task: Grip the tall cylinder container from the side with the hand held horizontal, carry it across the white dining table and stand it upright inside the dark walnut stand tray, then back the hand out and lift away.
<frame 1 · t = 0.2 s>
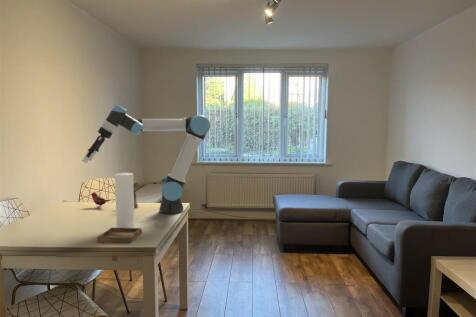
hand: (86, 160, 208), 35 cm above the table, tool tilted 35°, fingers open, 13 cm apart
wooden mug: (132, 208, 244), on the table
walnut stand tray: (120, 237, 182), on the table
decorative bird figurine: (101, 208, 246), on the table
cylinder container: (125, 228, 198), on the table
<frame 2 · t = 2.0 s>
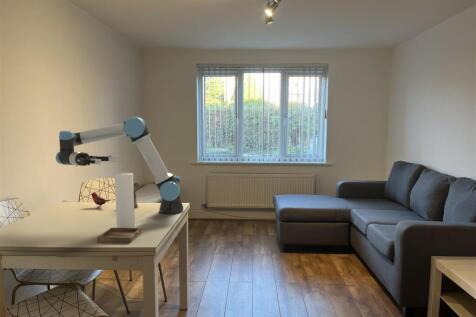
hand: (109, 160, 199), 36 cm above the table, tool horizontal, fingers open, 13 cm apart
nothing on the table moved.
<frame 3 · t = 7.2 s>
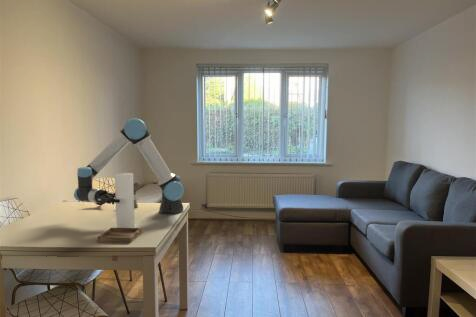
hand: (131, 199, 195), 16 cm above the table, tool horizontal, fingers closed on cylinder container, 9 cm apart
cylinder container: (125, 228, 198), on the table, touching gripper
everything else where it was.
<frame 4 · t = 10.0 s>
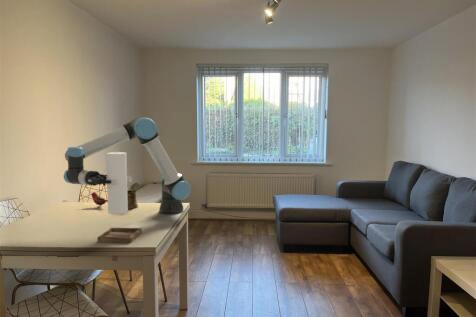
hand: (124, 180, 180), 28 cm above the table, tool horizontal, fingers closed on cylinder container, 9 cm apart
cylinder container: (118, 212, 183), point 12 cm above the table, touching gripper
everything else where it was.
when the fingers open (18 cm above the table, at t = 13.0 s): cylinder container drops 1 cm, resting on walnut stand tray.
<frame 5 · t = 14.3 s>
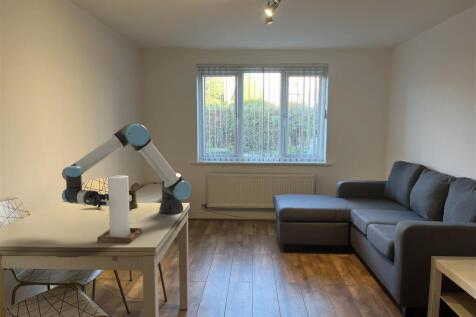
hand: (122, 200, 179), 19 cm above the table, tool horizontal, fingers open, 13 cm apart
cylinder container: (120, 235, 182), point 1 cm above the table, touching walnut stand tray
everything else where it was.
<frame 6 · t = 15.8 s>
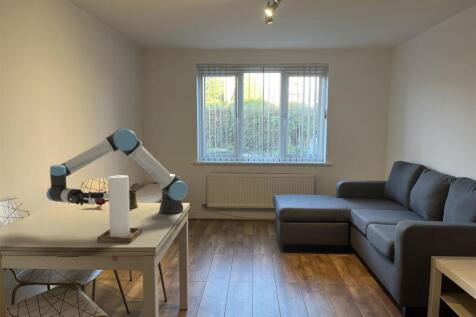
hand: (104, 199, 184), 19 cm above the table, tool horizontal, fingers open, 13 cm apart
nothing on the table moved.
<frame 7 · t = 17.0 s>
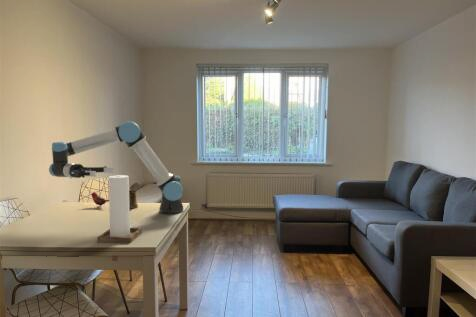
hand: (104, 172, 193), 31 cm above the table, tool horizontal, fingers open, 13 cm apart
nothing on the table moved.
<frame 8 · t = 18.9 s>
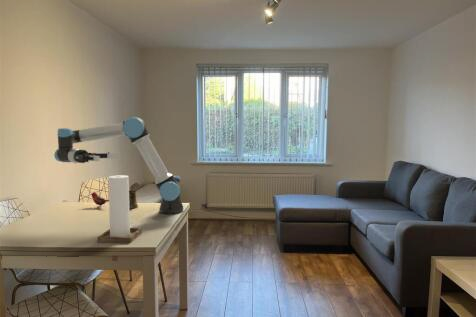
hand: (108, 157, 198), 38 cm above the table, tool horizontal, fingers open, 13 cm apart
nothing on the table moved.
at the end: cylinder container inside the target area on the walnut stand tray (0.1 cm from its centre), point 0.8 cm above the walnut stand tray's base; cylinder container tilted 0°; the gripper is holding nothing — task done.
